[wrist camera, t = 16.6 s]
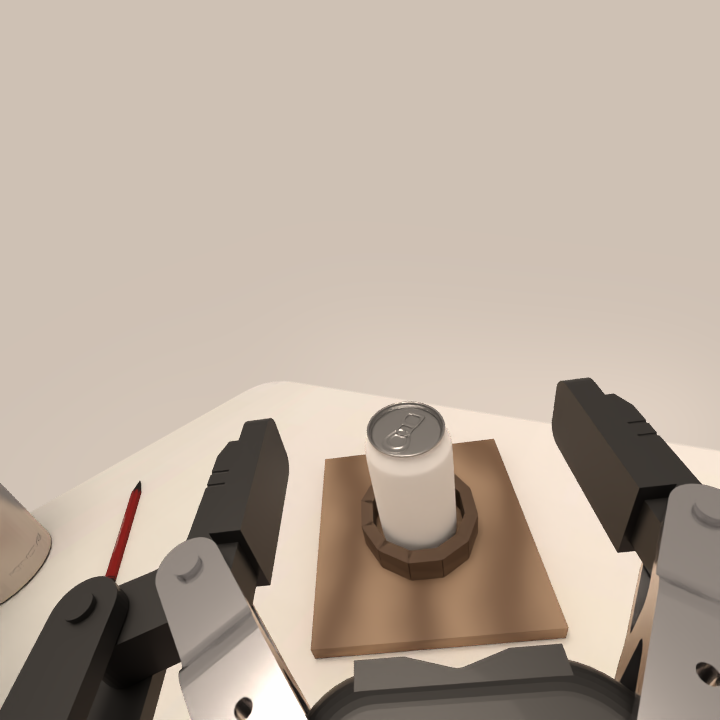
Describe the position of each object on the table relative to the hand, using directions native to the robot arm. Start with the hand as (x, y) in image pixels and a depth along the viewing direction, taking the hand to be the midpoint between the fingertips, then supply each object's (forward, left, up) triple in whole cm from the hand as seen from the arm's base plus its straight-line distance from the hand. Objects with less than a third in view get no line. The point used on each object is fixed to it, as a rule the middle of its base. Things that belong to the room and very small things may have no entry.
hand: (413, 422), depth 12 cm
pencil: (-30, +17, -26) cm, 44 cm away
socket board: (0, +13, -26) cm, 29 cm away
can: (0, +13, -25) cm, 28 cm away
